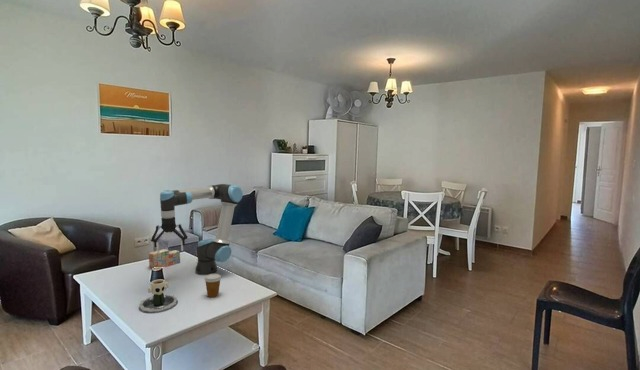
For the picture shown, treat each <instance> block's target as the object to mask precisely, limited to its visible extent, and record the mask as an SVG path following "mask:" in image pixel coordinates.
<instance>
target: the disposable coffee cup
mask: <svg viewBox="0 0 640 370" xmlns="http://www.w3.org/2000/svg"><path fill="white" fill-rule="evenodd" d="M204 276H205V277H204V281H205V286H206V287H205V288H206V293H207V297H208V298H217V297H218V296H219V292H220V283H221V279H222V277H221V275H220V274H219V273H213V274H209V275H204Z"/></svg>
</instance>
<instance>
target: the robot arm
mask: <svg viewBox="0 0 640 370" xmlns="http://www.w3.org/2000/svg"><path fill="white" fill-rule="evenodd" d="M242 198H243V190H242V188H241V187H240V186H239V185H236V184H228V183H227V184H226V183H220V184H214V185H212V184H211V185H207V187H196V188H185V189H175V190H174V189H173V190H168V189H167V190H163V191H161V192H160V194H159V201H160V216H161V225H159V224H158V225H156V226H155V231H154V233H153V235H152V237H151V239H150V242H153V243H154V248H156V251H157V253H159V250H160V244H159V243H160V242H159V239H160V238H161V237H162V235H164V233H166V234H167V233H174V234H176V236H177V237H179V239H180V247H181V249H180V250H181V251H180V252H183V251H184V246H185V244H186V240H188V235H187V234H186V232H185V230H184V228H183V227H182V224H181V223H178V224H176V217H175V216H176V212H175V211H176V210H175V209H176V208H175V207H177V206H183V205H188V204H191V203H192V202H193V200H202V199H209V200H219V201H220V204H221V205H222V206H221V210H220V214H219V219H218V224H217V230H216V234H215V238H207V239H201V240H199V241H198V242H197V246H196V247H197V248H196V249H197V263H196V266H195V269H194V270H195V274H196V275H201V276H207V275H209V274H216V273H218V272H217V271H218V266H217V263H216V262H218V263H224V262H227V260H229V259H230V257H231V256H232V248H231V247H230V244H231V243H230V241H229V238H230V231H231V227H232V222H233V217H234V212H235V208H236V206H238V203H240V202H241V201H242ZM176 228H178V229H179V231H180V232H181V233H180V232H179V231H178V230H177V229H176ZM160 229H161V230H162V231H161V232H160V233H159V234H158V231H159V230H160ZM157 234H158V236H157ZM156 236H157V237H156Z"/></svg>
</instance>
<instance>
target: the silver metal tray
mask: <svg viewBox="0 0 640 370" xmlns="http://www.w3.org/2000/svg"><path fill="white" fill-rule="evenodd" d="M164 299H165V302H164V303H163V304H162V303H160V305H154V304H153V295H152V296H149V297H146V298H145V299H143V300H141V301H140V303H139V305H138V310H139V311H140V312H141V313H144V314H156V313H157V314H159V313H162V312H166V311H169V310H172V309H174V307H176V306H177V305H178V302H179V301H178V297H177V296H175V295H172V294H166V293H165V294H164Z"/></svg>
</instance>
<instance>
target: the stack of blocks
mask: <svg viewBox="0 0 640 370" xmlns="http://www.w3.org/2000/svg"><path fill="white" fill-rule="evenodd" d="M177 264H181V251H179V250H176V249H175V250H169V249H166V248H163V249H159V253H157V250H156V251H152V252H149V253H148V265H149V266H148V267H149V268H150V269H149V268H148V269H149V270H151V269H152V268H154V267H165V268H168V267H171V266H173V265H174V266H175V265H177Z"/></svg>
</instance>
